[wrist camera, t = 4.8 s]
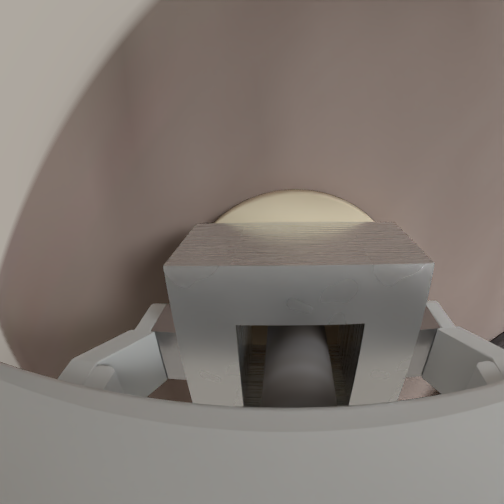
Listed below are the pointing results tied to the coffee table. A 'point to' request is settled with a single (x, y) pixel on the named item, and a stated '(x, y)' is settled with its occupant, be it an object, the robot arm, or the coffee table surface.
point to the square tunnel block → (297, 303)
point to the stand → (296, 336)
